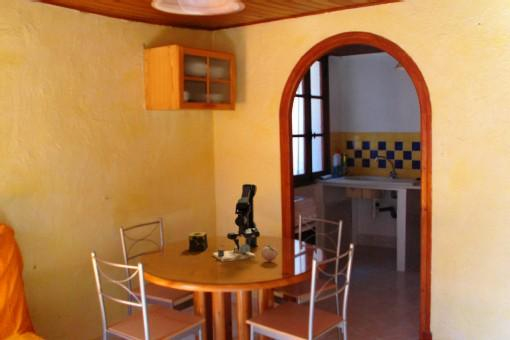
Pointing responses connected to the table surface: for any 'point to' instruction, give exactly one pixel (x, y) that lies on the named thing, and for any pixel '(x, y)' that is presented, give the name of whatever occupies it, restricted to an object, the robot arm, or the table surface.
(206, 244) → the tissue box
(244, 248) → the gear
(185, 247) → the table surface
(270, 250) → the decorative fruit
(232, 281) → the table surface
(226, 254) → the gear board
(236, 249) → the gear
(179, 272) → the table surface
